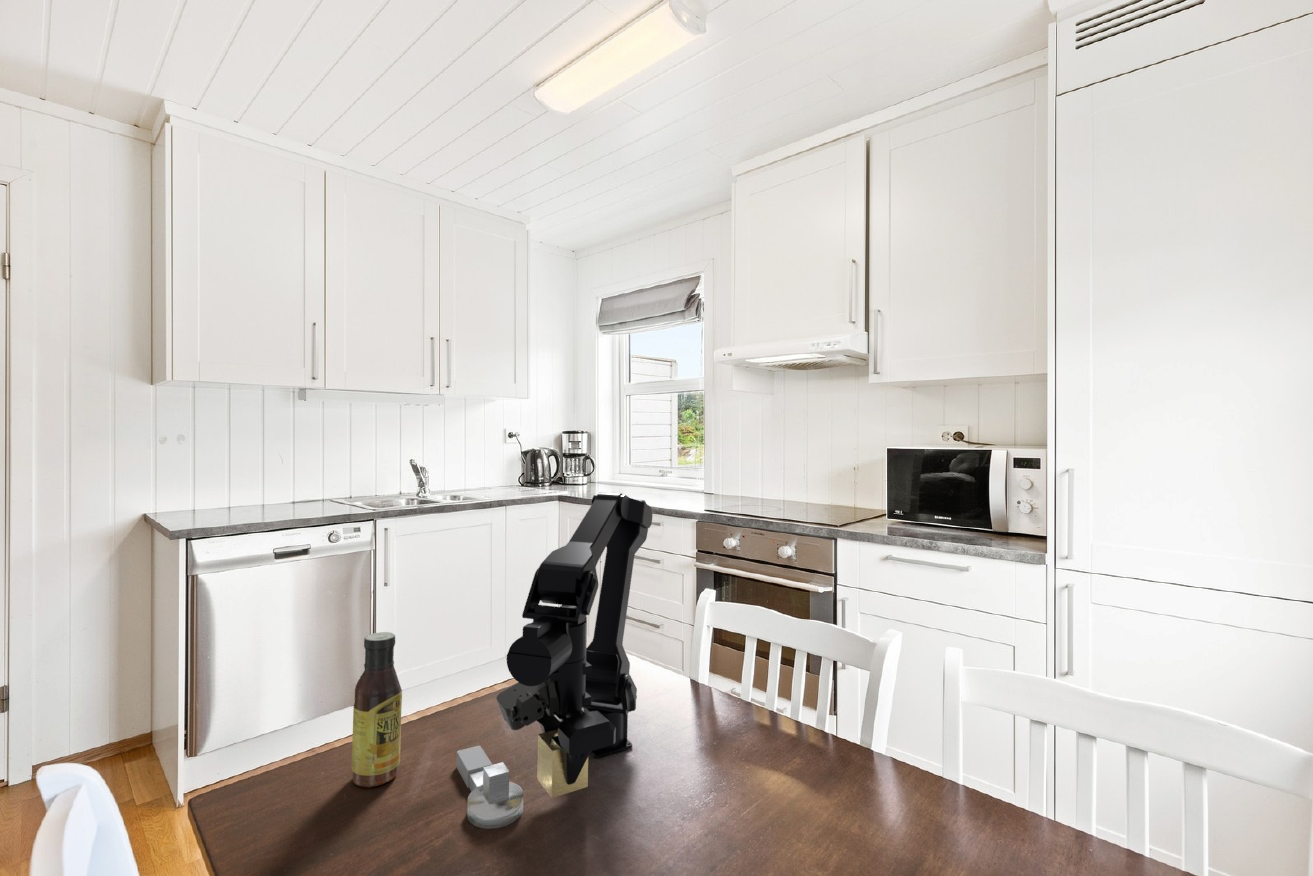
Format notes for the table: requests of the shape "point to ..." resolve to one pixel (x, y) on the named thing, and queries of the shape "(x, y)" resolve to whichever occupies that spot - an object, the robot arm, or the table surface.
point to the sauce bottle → (377, 715)
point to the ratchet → (488, 790)
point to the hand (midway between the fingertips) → (562, 773)
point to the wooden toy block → (556, 767)
